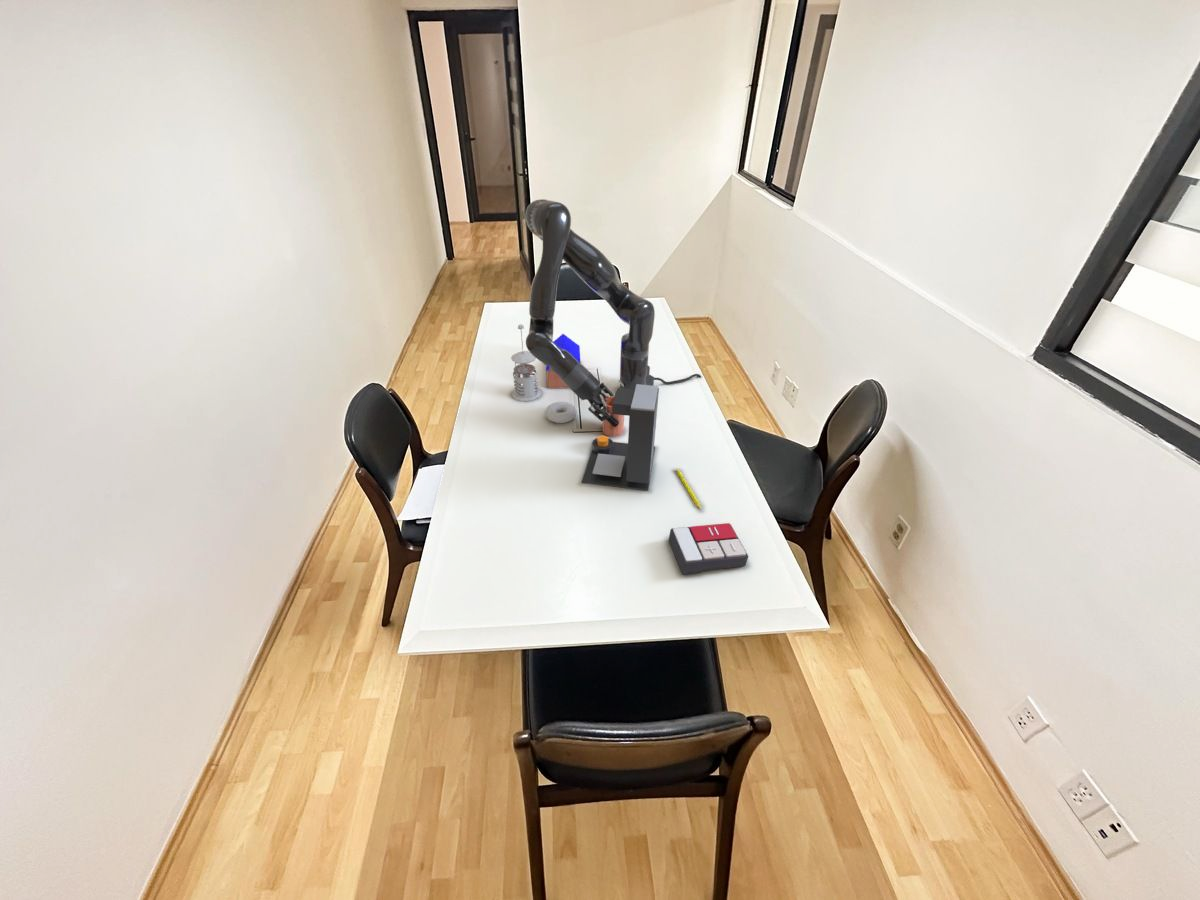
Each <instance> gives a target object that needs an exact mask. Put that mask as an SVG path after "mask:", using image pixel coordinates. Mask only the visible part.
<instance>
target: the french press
mask: <svg viewBox="0 0 1200 900" xmlns="http://www.w3.org/2000/svg"><path fill="white" fill-rule="evenodd" d="M517 329H518V330H520V337H521V340H523V331H522V330H523V329H525V326H524V324H518V325H517ZM521 349H522V350H521V351H518V352H516V353H514V354H512V355H511V356H510V360H511V361H512V362H514V368H513V372H512V376H513V387H514V390H513V392H512V395H511V396H512V398H513V399H514V400H516V401H520V402H532V401H535V400H537V399H538V398H540V397H541V395H542V393H541V390H539V389H538V374H537V373H538V372H537V370H536V366H535V365H533V364H531V363H533V362H534V361H536V358H535V357H534V356H533V355H532V354H531V353H530V352H529V351H526V350H524V341H521ZM521 375H522V377H521Z"/></svg>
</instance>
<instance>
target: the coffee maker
mask: <svg viewBox="0 0 1200 900" xmlns="http://www.w3.org/2000/svg"><path fill="white" fill-rule="evenodd" d="M659 392H660V387H659V386H658V385H652V386H651V385H640V384H636V387H635V390H634V389H623V388H619V387H617V388H616V391H615V394H614V396H615V397H614V400H613V403H612V414H617V415H624V416H628V417H629V418H628V435H627V443H628V454H627V475H626V481H629V482H637V483H646V484H649V480H650V481H651V477H650V474H651V475H652V471H651V468H652V469H653V465H652V461H653V462H654V458H653V454H654V455H655V452H654V446H655V443H656V442H655V439H656V428H657V417H658V406H659V405H658V404H659V394H660V393H659ZM624 460H625V456H617V455H608V454H599V453H598V457H597V460H596V463H595V466H594V470H593V473H592V474H599V475H608V476H616V477H621V473H622V469H623V464H624ZM649 485H650V484H649Z"/></svg>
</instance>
